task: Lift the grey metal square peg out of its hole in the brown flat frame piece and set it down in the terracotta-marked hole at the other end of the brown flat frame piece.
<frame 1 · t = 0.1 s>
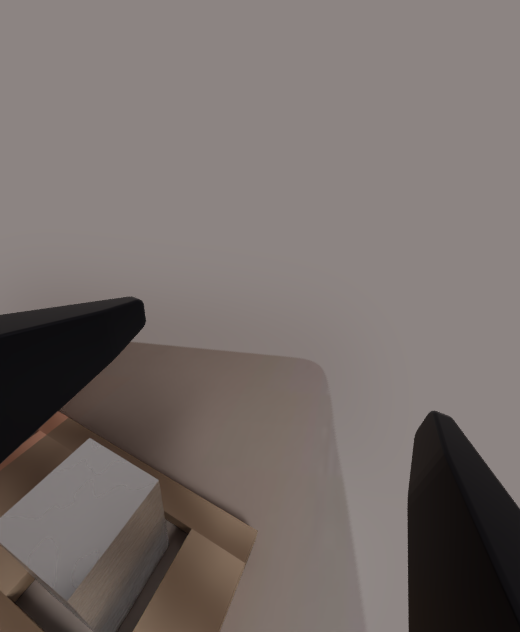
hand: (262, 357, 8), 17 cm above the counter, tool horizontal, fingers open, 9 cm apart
brown flat frame piece: (42, 512, 18), on the counter
square peg: (112, 566, 16), resting in brown flat frame piece
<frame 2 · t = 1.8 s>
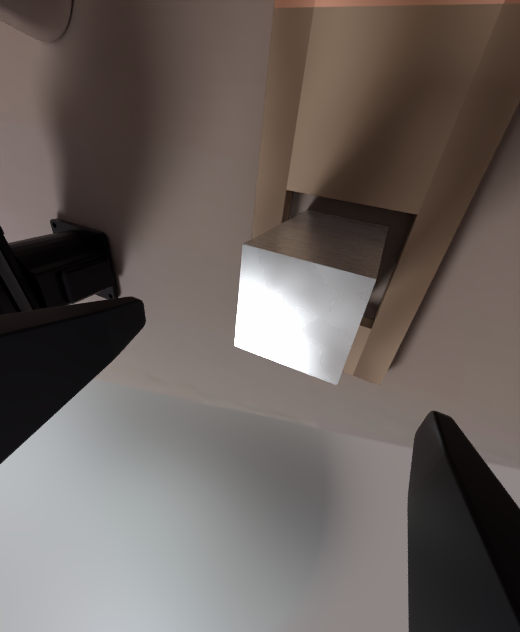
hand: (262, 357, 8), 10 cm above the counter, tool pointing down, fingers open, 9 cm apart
brown flat frame piece: (367, 137, 13), on the counter
square peg: (335, 256, 16), resting in brown flat frame piece
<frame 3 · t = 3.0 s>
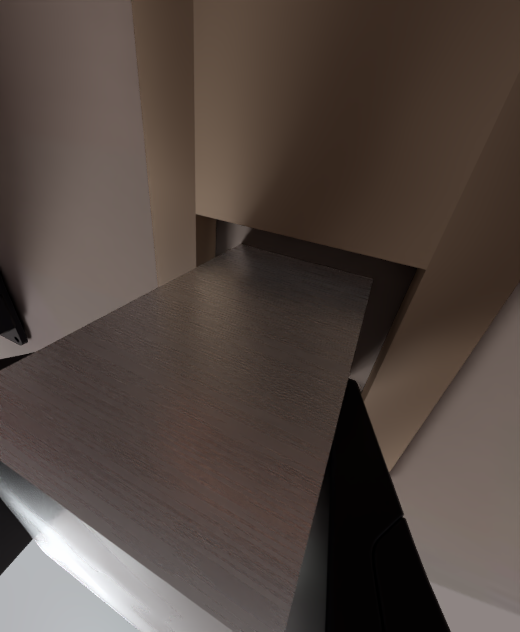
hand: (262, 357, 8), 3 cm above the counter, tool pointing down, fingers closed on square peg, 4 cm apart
brown flat frame piece: (331, 119, 7), on the counter
square peg: (290, 317, 10), resting in brown flat frame piece, touching gripper
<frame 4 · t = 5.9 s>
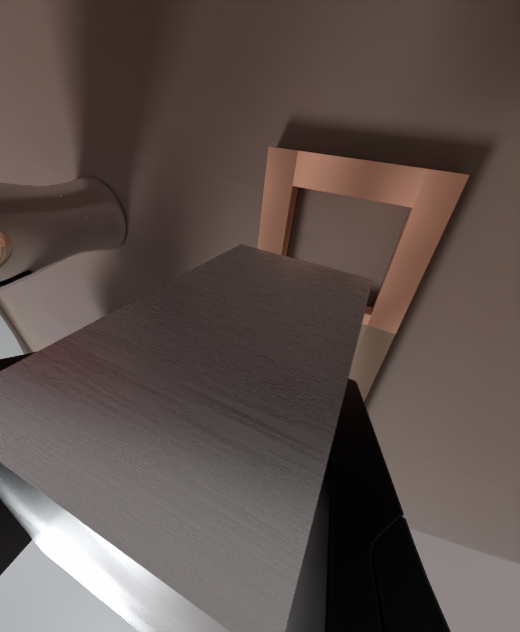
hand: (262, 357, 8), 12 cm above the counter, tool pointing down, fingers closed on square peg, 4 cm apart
brown flat frame piece: (310, 346, 22), on the counter
beer glass: (102, 214, 25), on the counter
square peg: (290, 318, 10), point 9 cm above the counter, touching gripper
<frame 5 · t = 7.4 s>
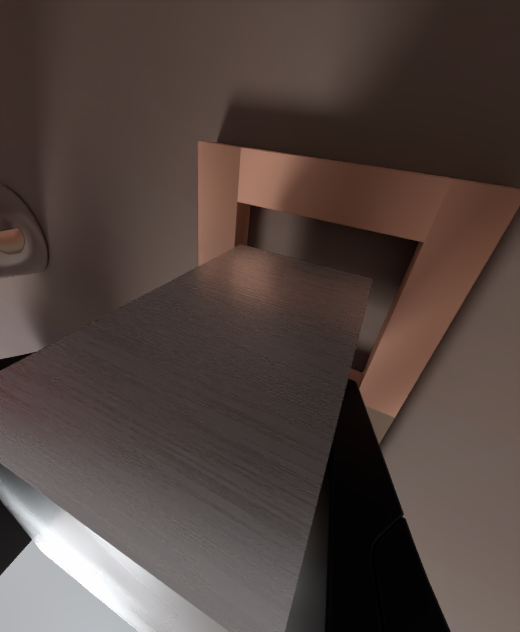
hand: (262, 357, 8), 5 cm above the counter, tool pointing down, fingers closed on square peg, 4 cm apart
brown flat frame piece: (281, 410, 16), on the counter
beer glass: (20, 229, 20), on the counter
square peg: (290, 318, 10), point 3 cm above the counter, touching gripper
when the fingers open (3 cm above the counter, at t = 8.6 s): square peg stays where it is, resting in brown flat frame piece.
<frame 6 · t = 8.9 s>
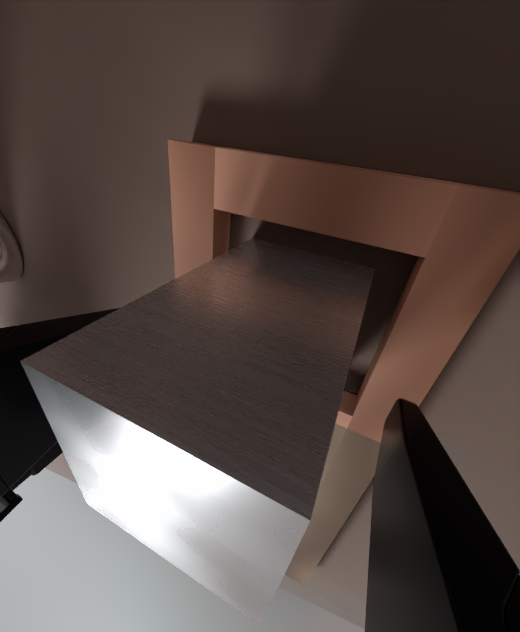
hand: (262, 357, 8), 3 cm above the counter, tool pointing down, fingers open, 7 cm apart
brown flat frame piece: (271, 431, 15), on the counter
square peg: (298, 306, 11), resting in brown flat frame piece
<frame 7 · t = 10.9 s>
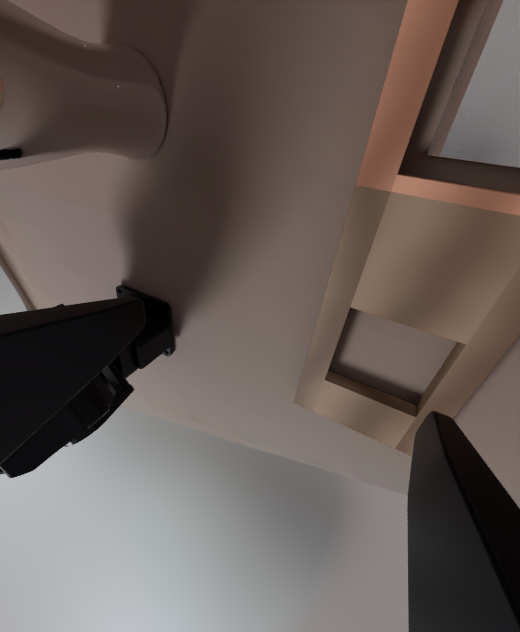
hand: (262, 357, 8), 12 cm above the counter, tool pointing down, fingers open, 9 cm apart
brown flat frame piece: (424, 275, 16), on the counter
beer glass: (134, 108, 19), on the counter
square peg: (509, 100, 11), resting in brown flat frame piece
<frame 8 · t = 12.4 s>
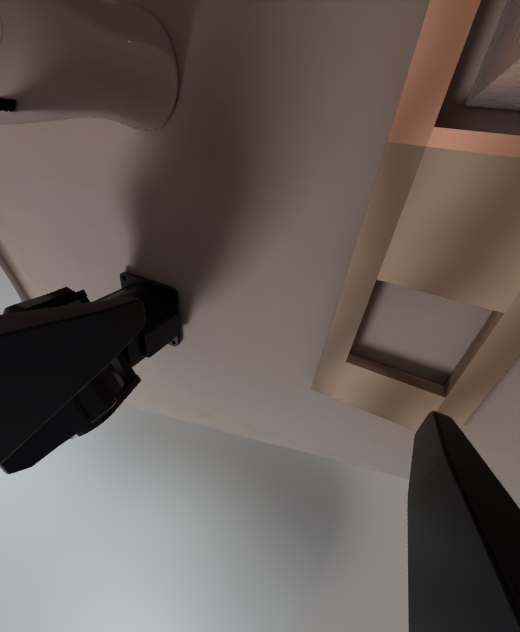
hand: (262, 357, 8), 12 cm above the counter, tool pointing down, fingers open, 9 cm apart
brown flat frame piece: (457, 241, 15), on the counter
beer glass: (142, 75, 18), on the counter
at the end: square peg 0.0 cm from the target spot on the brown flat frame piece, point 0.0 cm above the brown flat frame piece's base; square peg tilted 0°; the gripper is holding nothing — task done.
